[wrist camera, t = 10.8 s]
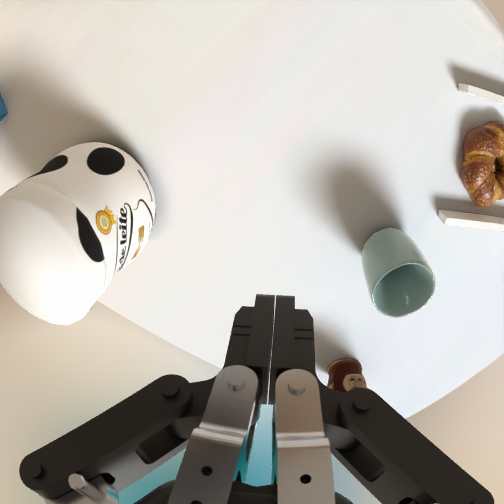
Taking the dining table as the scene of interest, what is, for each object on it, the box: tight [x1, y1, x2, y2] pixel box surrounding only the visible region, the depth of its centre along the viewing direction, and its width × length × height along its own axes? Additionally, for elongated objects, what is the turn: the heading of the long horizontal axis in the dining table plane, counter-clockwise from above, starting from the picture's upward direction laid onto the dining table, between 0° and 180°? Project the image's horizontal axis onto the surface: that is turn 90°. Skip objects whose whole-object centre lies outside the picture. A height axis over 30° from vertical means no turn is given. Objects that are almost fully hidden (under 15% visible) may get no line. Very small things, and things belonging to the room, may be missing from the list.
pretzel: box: [461, 121, 504, 207], centre depth 31 cm, size 12×11×4 cm
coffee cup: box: [327, 359, 367, 393], centre depth 49 cm, size 9×8×13 cm
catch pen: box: [438, 83, 504, 231], centre depth 31 cm, size 18×17×2 cm
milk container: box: [0, 142, 156, 325], centre depth 33 cm, size 17×17×18 cm
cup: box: [362, 228, 435, 317], centre depth 36 cm, size 8×8×10 cm
